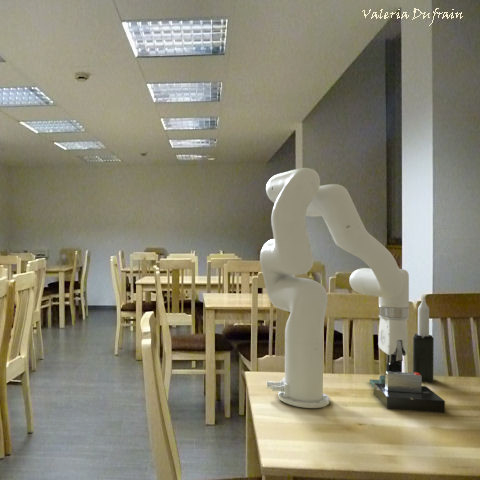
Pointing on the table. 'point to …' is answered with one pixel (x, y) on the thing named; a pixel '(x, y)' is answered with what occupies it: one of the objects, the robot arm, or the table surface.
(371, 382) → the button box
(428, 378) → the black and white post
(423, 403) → the panel
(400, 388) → the grey rectangular block
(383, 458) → the table surface
